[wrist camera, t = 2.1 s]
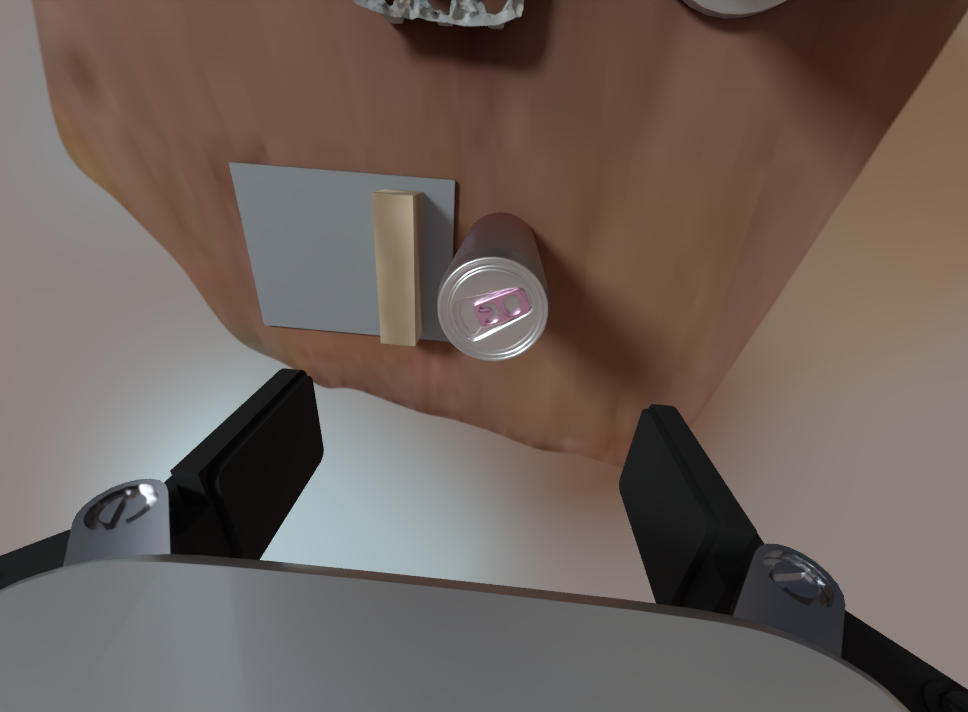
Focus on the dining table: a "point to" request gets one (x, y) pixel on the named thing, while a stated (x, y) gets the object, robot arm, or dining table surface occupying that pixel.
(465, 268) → the beverage can
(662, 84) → the dining table surface
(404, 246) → the block
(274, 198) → the mat
